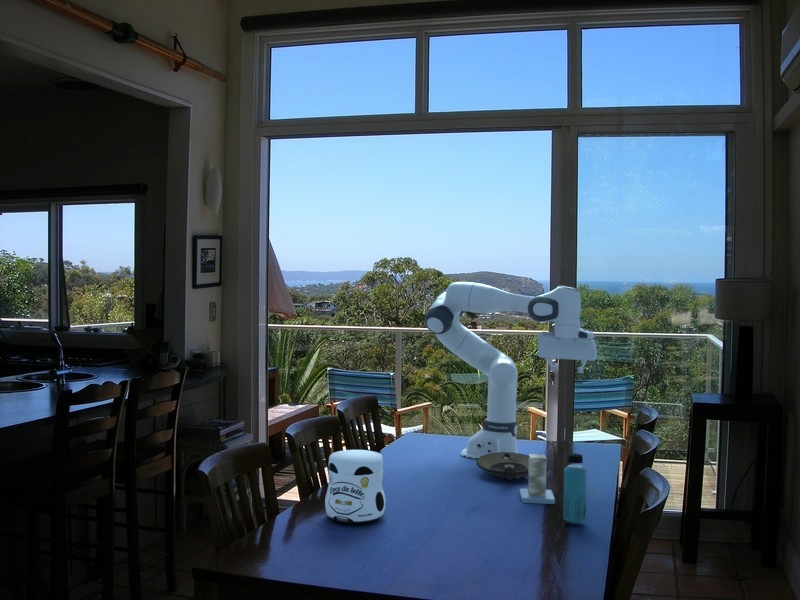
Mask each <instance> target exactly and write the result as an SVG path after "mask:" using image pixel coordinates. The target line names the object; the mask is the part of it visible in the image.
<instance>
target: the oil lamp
mask: <svg viewBox="0 0 800 600" xmlns="http://www.w3.org/2000/svg"><path fill="white" fill-rule="evenodd" d="M504 457H507V458H509V459H504ZM476 466H477V467H478V468H479V469H481V470H483V471H484V472H486V473H488V474H490V475H491V476H492V475H493V476H496V477H499V478H504V479H507V480H509V481H510V480H513V479H515V478H522V477H524V476H529V454H528V455H527V454H524V453H520V452H518V453H514V452H500V453H491V454H486V455H483V456H481V457H479V458H478V459H476Z"/></svg>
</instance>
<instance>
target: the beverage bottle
mask: <svg viewBox="0 0 800 600" xmlns="http://www.w3.org/2000/svg"><path fill="white" fill-rule="evenodd" d="M567 456H568V457H567V463H568V462H569V463H570V464H568V465H566V467H565V468H563V507H562V517H563V519H564V520H565V521H567V522H570V523H578V524H579V523H583V522H586V519H587V500H588V499H587V493H588V492H587V469H585V467H584V466H582V465H579V464H582V463H583V461H584V460H583V454H582V453H581V454H580V453H576V452H575V453H573V452H572V453H568V455H567Z"/></svg>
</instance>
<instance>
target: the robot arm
mask: <svg viewBox="0 0 800 600" xmlns="http://www.w3.org/2000/svg"><path fill="white" fill-rule="evenodd" d="M507 311H510V312H511V311H512V312H520V313H527V314H528V316H529V317H530V318H531V319H532V320H533V321H535V322H538V323H549V322H554V331H541V332H540V333H539V334H537V342H538V347H537V356H538V357H539V358H541V359H547V363H548V365H549V366H550V372H556V371H557V370H556V368H557V367H556V365H554V363H553V361H554V359H555V360H556V359H559V360H572V361H573V360H574V361H575V360H576V361H580V363H581V366H579V367H577V374H578V373H579V374H582V373H584V367H585V365H586V364H587V361H591V362H592V361H595V360H596V359H597V358H598V350H597V344H596V341H595V339H594V337H595V333H594V332H592V331H591V330H587V329H585V328H581V325H582V324H581V320H580V319H581V318H580V317H581V316H580V315H581V312H582V300H581V293H580V291H579V289H577V288H575V287H572V286H566V285H558V286H557V287H556V288H554V289H553V290H550V291H548V292H546V293H543V294H540V295H537V296H532V295H525V294H524V295H523V294H517V293H512V292H509V291H505V290H504V289H499V288H497V287H494V286H491V285H487V284H484V283H479V282H472V281H456V282H452V283H450V284H448V287H447V288H446V289H444V290H442V292H440V294H439V295H438V296H437V298H436V299H435V300H434V301H433V302H432V305H431V306H430V308H429V309H428V311H427V312H426V314H425V316H424V325H425V327H426V328H427V330H429V332H431V333H433V334H434V335H436V338H437V339H438V341H439V342H440V344H442V345H443V347H445V348H446V349H447V350H449V351H450V352H452V353H453V354H454V355H456V356H457V357H458V358H460V359H461V360H462V361H463V362H465V363H467V364H468V365H469V366H471V367H472V368H474V369H476V370H478V371H479V372H480V373H482V374H483V375H485V376H487V377H488V378H487V379H488V380H487V408H486V409H487V413H486V414H487V415H486V418H484V419H483V420H482V422H481V429H480V430H479V431H477V432H475V433H474V434H473V435H471V437H470V438H469V439H468V441H467V445H466V447H465V448H463V449H462V450H461V452H460V455H461V456H462V457H464V456H465V458H470V457H471V458H470V459H476V458H479V457H481V456H483V455H486V454H491V453H500V452H514V453H519V450H518V445H517V433H518V424H517V423H518V422H517V420H516V419H517V394H518V392H517V389H518V375H519V371H518V369H517V366H516V363H515V362H514V360H513V359H512V358H510V357H509V356H507V355H506V354H505V353H503V352H502V351H501V350H499V349H497V348H496V347H495V346H493V345H491V344H490V343H488V342H487V341H485V340H484V339H483V338H481V337H480V336H479V335H477V334H476V333H475V332H473V331H472V330H470V329H469V328H467V327H466V326H465V325H463V324H462V323H461V321H460V317H462V316H463V312H470V313H475V314H493V313H499V312H507ZM504 459H509V458H507V457H504Z"/></svg>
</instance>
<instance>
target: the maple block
mask: <svg viewBox="0 0 800 600" xmlns="http://www.w3.org/2000/svg"><path fill="white" fill-rule="evenodd" d="M528 455H529V474H528V483H527V484H528V485H527V486H528V488H527V489H528V492H529V496H545V497H546V490H547V457H546V454H541V453H540V454H539V453H538V454H537V453H529V454H528Z"/></svg>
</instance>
